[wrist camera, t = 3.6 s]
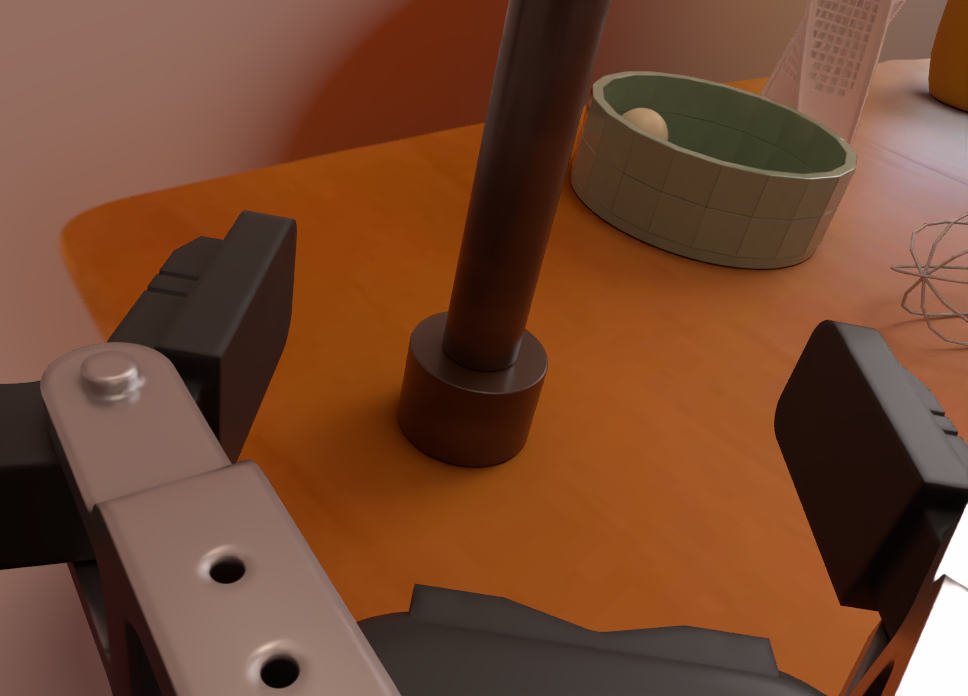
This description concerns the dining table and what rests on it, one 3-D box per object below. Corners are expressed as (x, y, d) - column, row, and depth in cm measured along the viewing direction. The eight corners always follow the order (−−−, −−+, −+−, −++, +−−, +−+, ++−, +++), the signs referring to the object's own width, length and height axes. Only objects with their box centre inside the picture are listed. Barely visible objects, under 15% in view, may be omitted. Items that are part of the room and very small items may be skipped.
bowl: (534, 203, 43) (557, 110, 40) (608, 132, 54) (630, 55, 51) (806, 301, 39) (852, 207, 37) (824, 203, 51) (861, 125, 48)
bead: (598, 161, 48) (614, 108, 46) (613, 146, 50) (628, 95, 48) (651, 179, 47) (669, 125, 45) (663, 163, 49) (680, 111, 48)
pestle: (373, 431, 26) (475, -256, 16) (433, 364, 30) (549, -236, 20) (498, 487, 25) (691, -207, 15) (545, 411, 29) (728, -195, 19)
